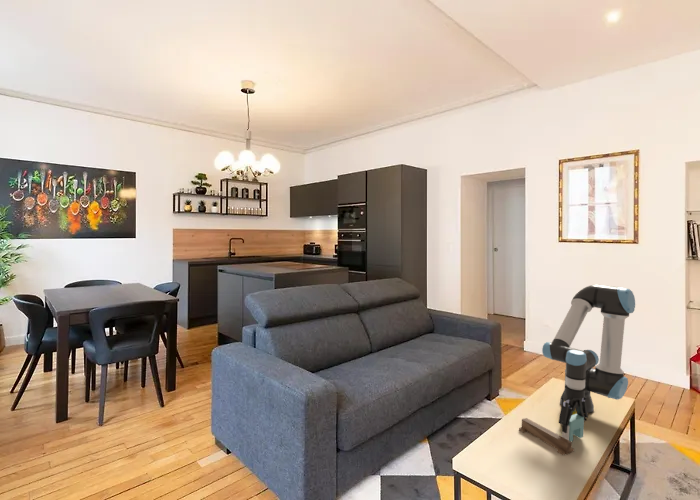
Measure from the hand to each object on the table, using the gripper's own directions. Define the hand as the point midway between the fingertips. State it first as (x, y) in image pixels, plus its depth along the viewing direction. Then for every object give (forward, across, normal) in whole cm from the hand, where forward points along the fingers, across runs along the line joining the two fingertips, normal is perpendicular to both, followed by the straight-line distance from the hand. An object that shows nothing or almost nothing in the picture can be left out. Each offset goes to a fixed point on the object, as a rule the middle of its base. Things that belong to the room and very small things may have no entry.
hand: (572, 436), depth 168 cm
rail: (+1, +11, -5) cm, 12 cm away
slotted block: (0, 0, 0) cm, 0 cm away
